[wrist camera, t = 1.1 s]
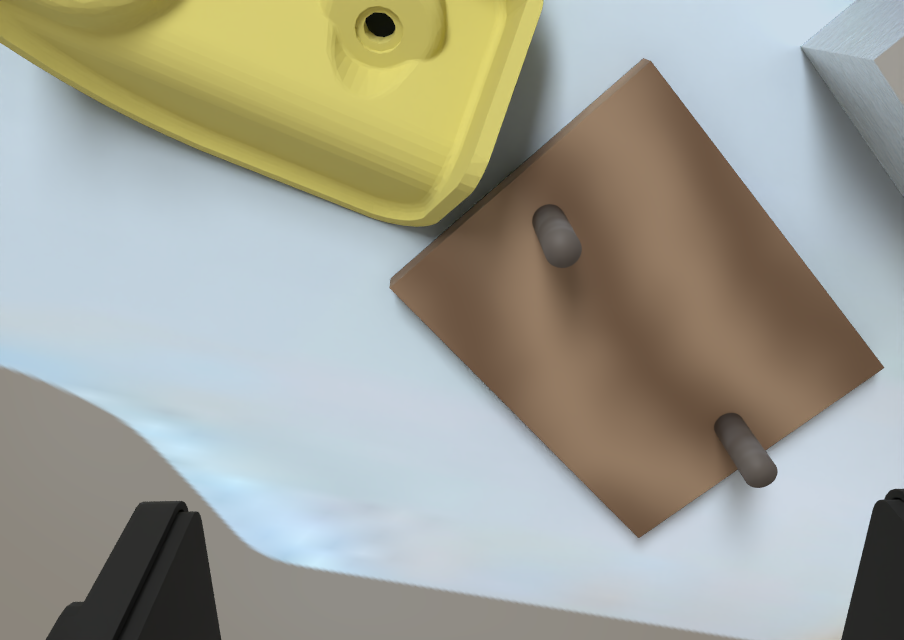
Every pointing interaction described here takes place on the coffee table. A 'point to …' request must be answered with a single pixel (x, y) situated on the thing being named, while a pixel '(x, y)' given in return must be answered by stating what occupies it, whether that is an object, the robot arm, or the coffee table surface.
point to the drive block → (867, 74)
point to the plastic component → (301, 86)
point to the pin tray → (638, 307)
